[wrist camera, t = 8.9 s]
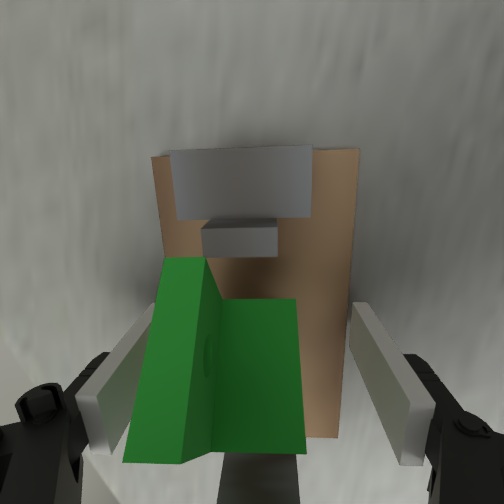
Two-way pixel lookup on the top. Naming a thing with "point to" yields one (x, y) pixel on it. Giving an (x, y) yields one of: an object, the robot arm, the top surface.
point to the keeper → (271, 268)
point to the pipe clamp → (216, 373)
